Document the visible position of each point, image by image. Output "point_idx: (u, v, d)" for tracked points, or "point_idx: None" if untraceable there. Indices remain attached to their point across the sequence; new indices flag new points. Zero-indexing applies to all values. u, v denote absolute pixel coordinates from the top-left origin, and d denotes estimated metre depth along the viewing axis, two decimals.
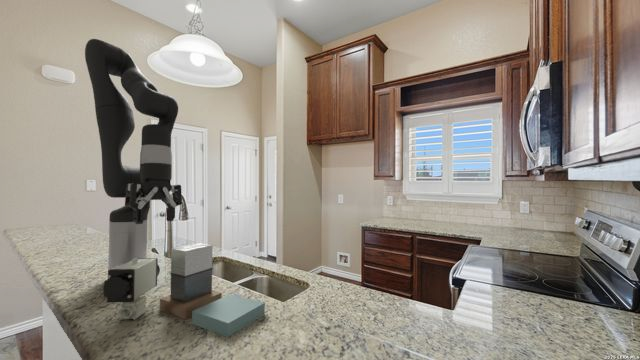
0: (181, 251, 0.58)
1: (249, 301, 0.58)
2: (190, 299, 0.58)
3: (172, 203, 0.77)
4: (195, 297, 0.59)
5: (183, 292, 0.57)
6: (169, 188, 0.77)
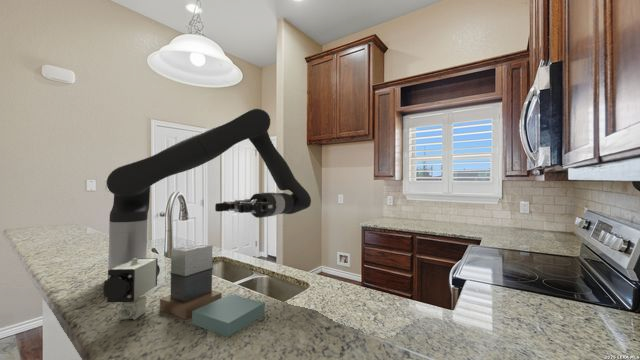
0: (181, 251, 0.58)
1: (249, 301, 0.58)
2: (190, 299, 0.58)
3: (230, 210, 0.77)
4: (195, 297, 0.59)
5: (183, 292, 0.57)
6: None
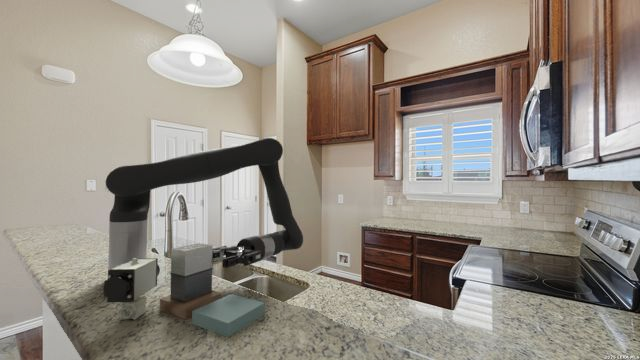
0: (181, 251, 0.58)
1: (249, 301, 0.58)
2: (190, 299, 0.58)
3: None
4: (195, 297, 0.59)
5: (183, 292, 0.57)
6: None
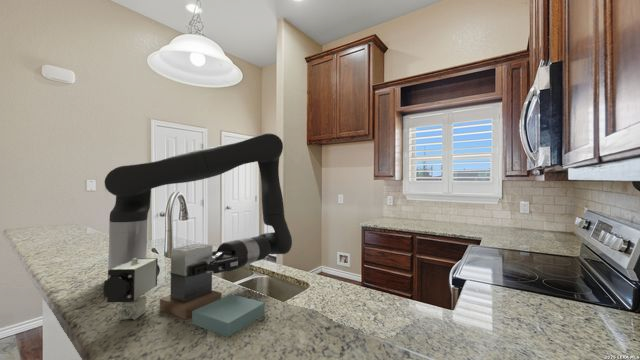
0: (181, 251, 0.58)
1: (249, 301, 0.58)
2: (190, 299, 0.58)
3: None
4: (195, 297, 0.59)
5: (183, 292, 0.57)
6: None
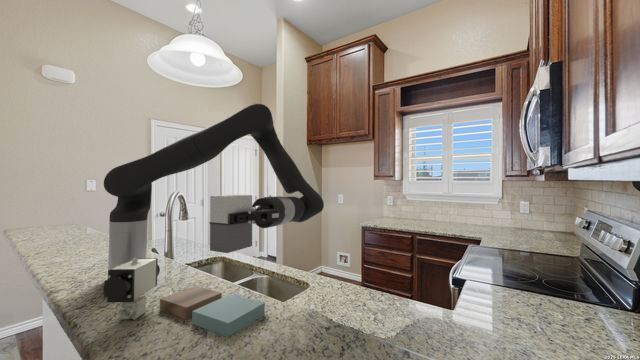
0: (222, 197, 0.53)
1: (249, 301, 0.58)
2: (232, 249, 0.54)
3: None
4: (237, 248, 0.55)
5: (225, 241, 0.53)
6: None
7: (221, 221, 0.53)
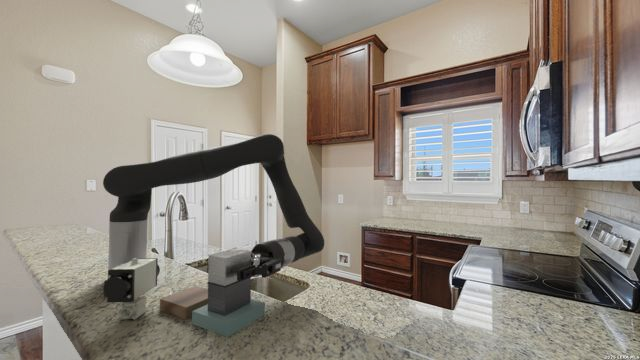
0: (220, 258, 0.53)
1: None
2: (230, 311, 0.53)
3: None
4: (235, 309, 0.54)
5: (223, 303, 0.52)
6: None
7: (219, 282, 0.52)
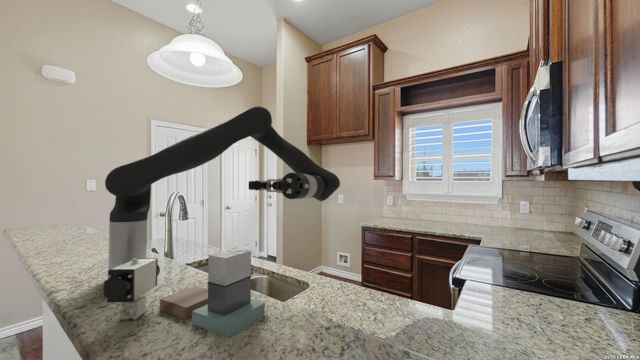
0: (220, 258, 0.53)
1: None
2: (230, 311, 0.53)
3: None
4: (235, 309, 0.54)
5: (223, 303, 0.52)
6: None
7: (219, 282, 0.52)
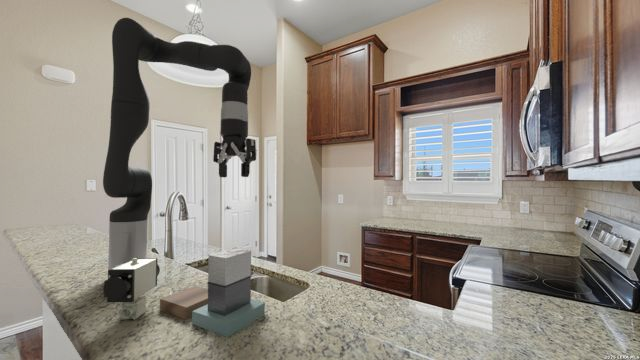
0: (220, 258, 0.53)
1: None
2: (230, 311, 0.53)
3: None
4: (235, 309, 0.54)
5: (223, 303, 0.52)
6: None
7: (219, 282, 0.52)
